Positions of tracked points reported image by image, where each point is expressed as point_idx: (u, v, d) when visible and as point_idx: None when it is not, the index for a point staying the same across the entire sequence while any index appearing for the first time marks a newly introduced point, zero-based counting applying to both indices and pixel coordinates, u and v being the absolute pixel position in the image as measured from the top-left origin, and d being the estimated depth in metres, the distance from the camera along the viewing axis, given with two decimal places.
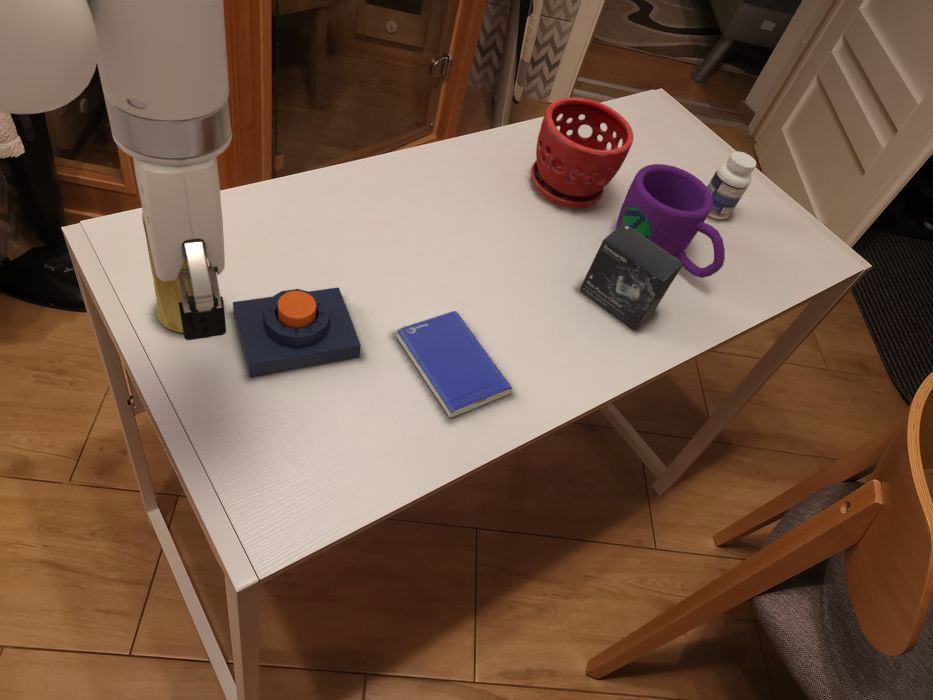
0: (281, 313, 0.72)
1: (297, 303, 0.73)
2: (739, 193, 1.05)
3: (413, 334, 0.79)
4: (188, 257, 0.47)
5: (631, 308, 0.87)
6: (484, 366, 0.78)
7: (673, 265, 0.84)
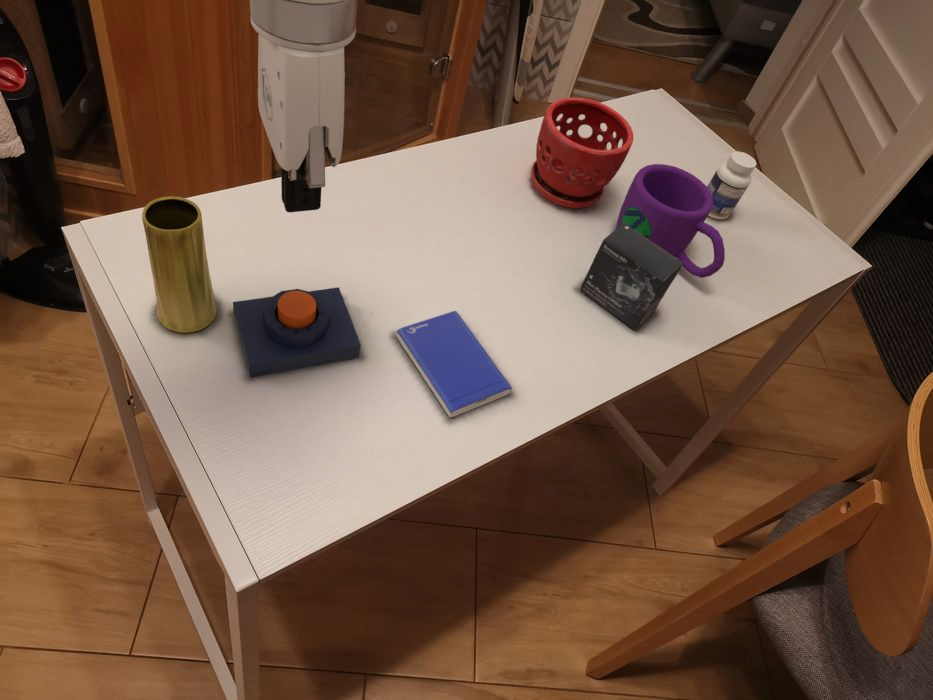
0: (281, 313, 0.72)
1: (297, 303, 0.73)
2: (739, 193, 1.05)
3: (413, 334, 0.79)
4: (310, 151, 0.53)
5: (631, 308, 0.87)
6: (484, 366, 0.78)
7: (673, 265, 0.84)
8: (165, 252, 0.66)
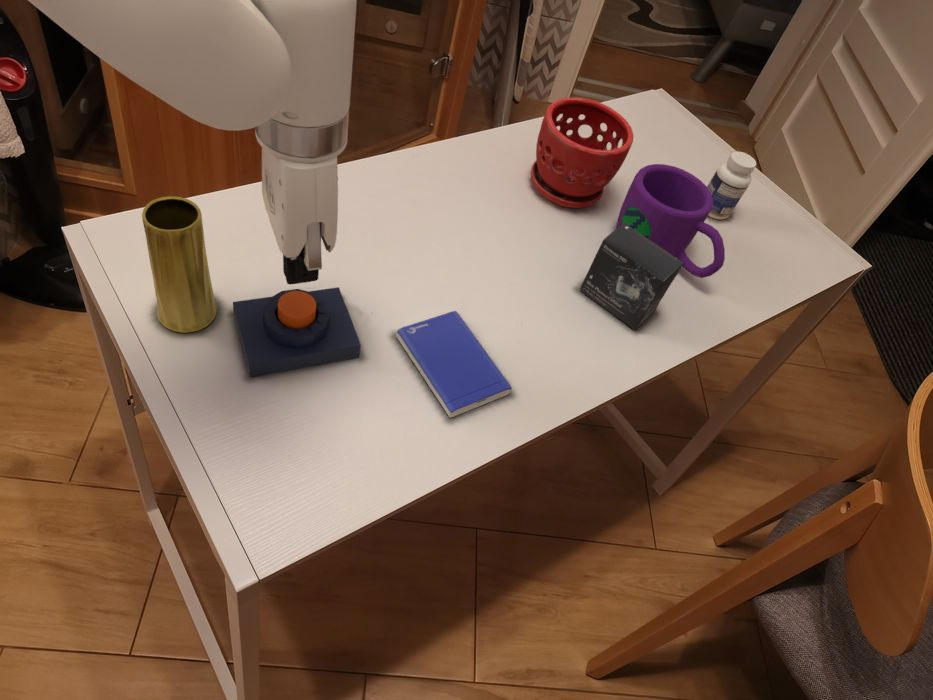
0: (281, 313, 0.72)
1: (297, 303, 0.73)
2: (739, 193, 1.05)
3: (413, 334, 0.79)
4: (308, 241, 0.60)
5: (631, 308, 0.87)
6: (484, 366, 0.78)
7: (673, 265, 0.84)
8: (165, 252, 0.66)
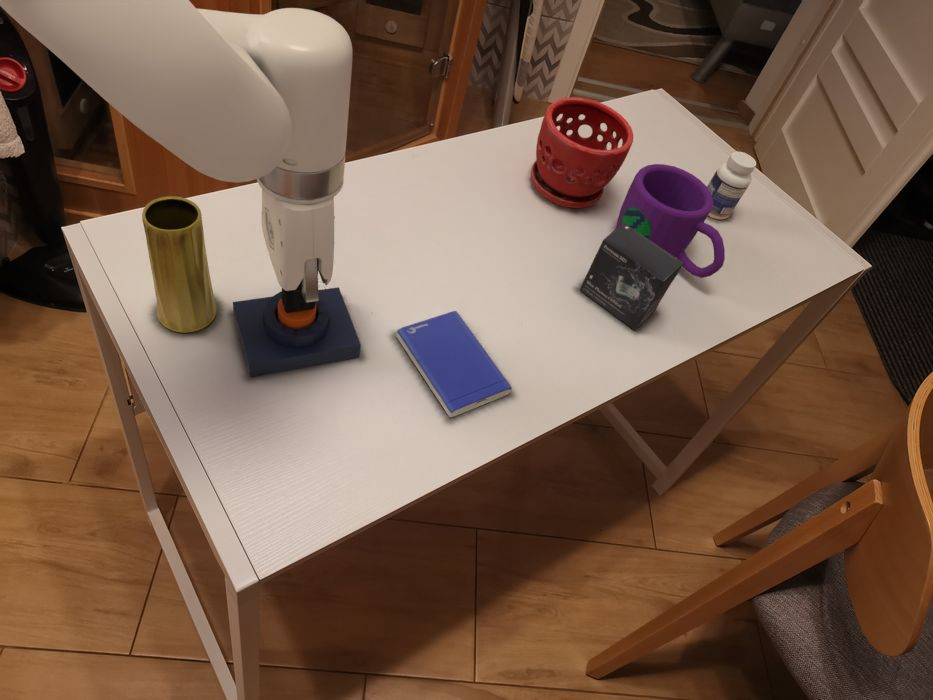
0: (281, 315, 0.72)
1: None
2: (739, 193, 1.05)
3: (413, 334, 0.79)
4: (306, 275, 0.64)
5: (631, 308, 0.87)
6: (484, 366, 0.78)
7: (673, 265, 0.84)
8: (165, 252, 0.66)
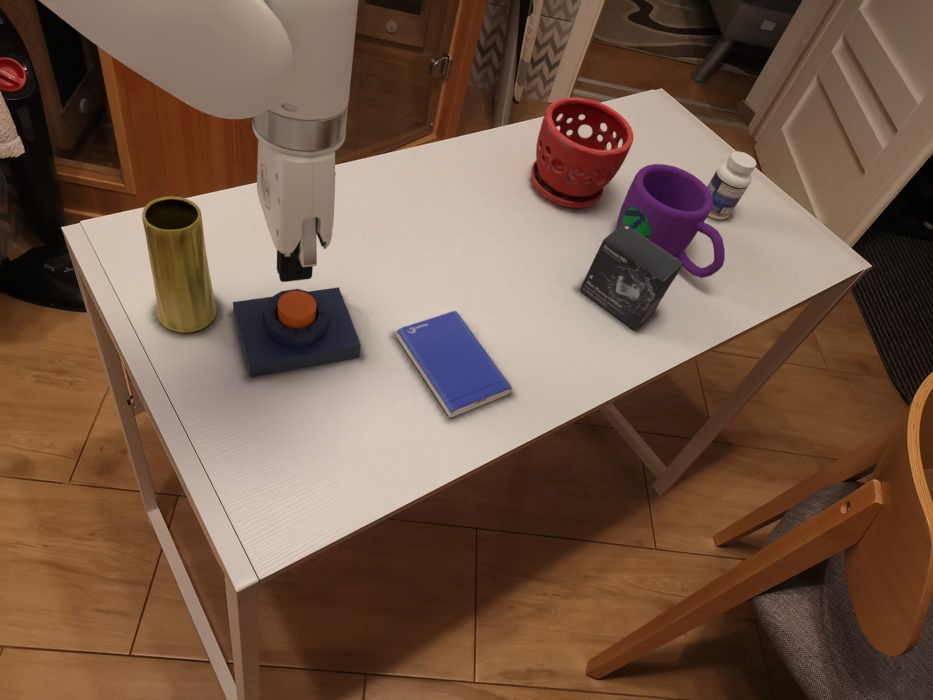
0: (281, 313, 0.72)
1: (297, 303, 0.73)
2: (739, 193, 1.05)
3: (413, 334, 0.79)
4: (304, 237, 0.60)
5: (631, 308, 0.87)
6: (484, 366, 0.78)
7: (673, 265, 0.84)
8: (165, 252, 0.66)
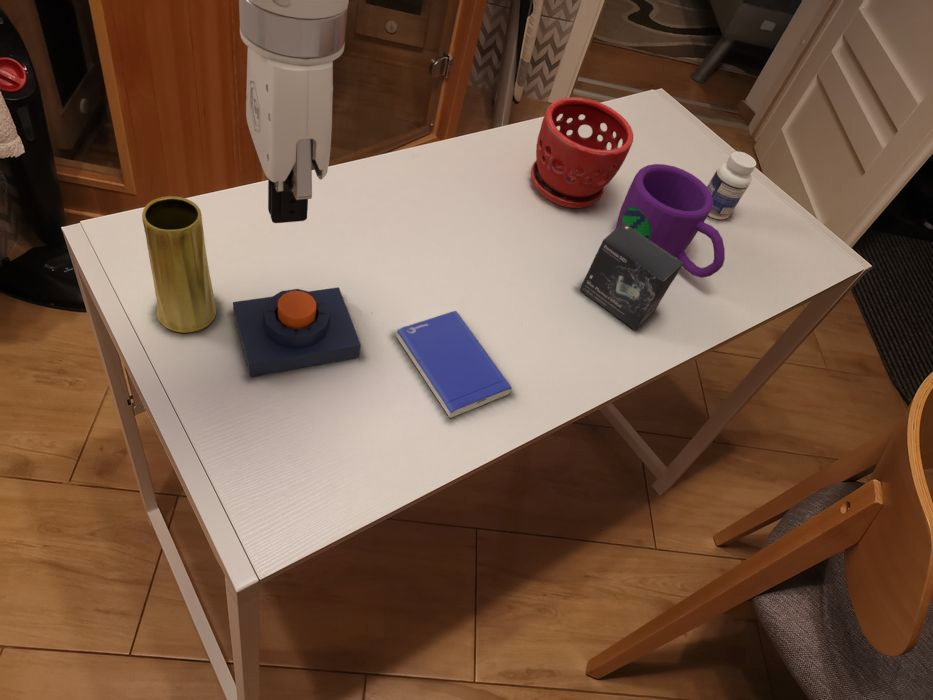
0: (281, 313, 0.72)
1: (297, 303, 0.73)
2: (739, 193, 1.05)
3: (413, 334, 0.79)
4: (297, 163, 0.54)
5: (631, 308, 0.87)
6: (484, 366, 0.78)
7: (673, 265, 0.84)
8: (165, 252, 0.66)
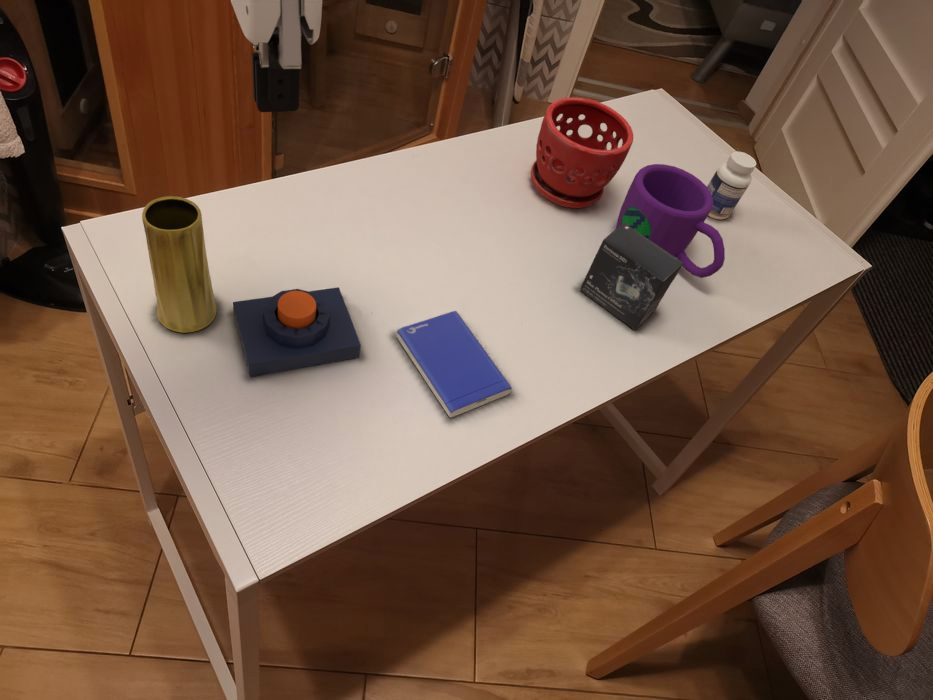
0: (281, 313, 0.72)
1: (297, 303, 0.73)
2: (739, 193, 1.05)
3: (413, 334, 0.79)
4: (283, 19, 0.45)
5: (631, 308, 0.87)
6: (484, 366, 0.78)
7: (673, 265, 0.84)
8: (165, 252, 0.66)
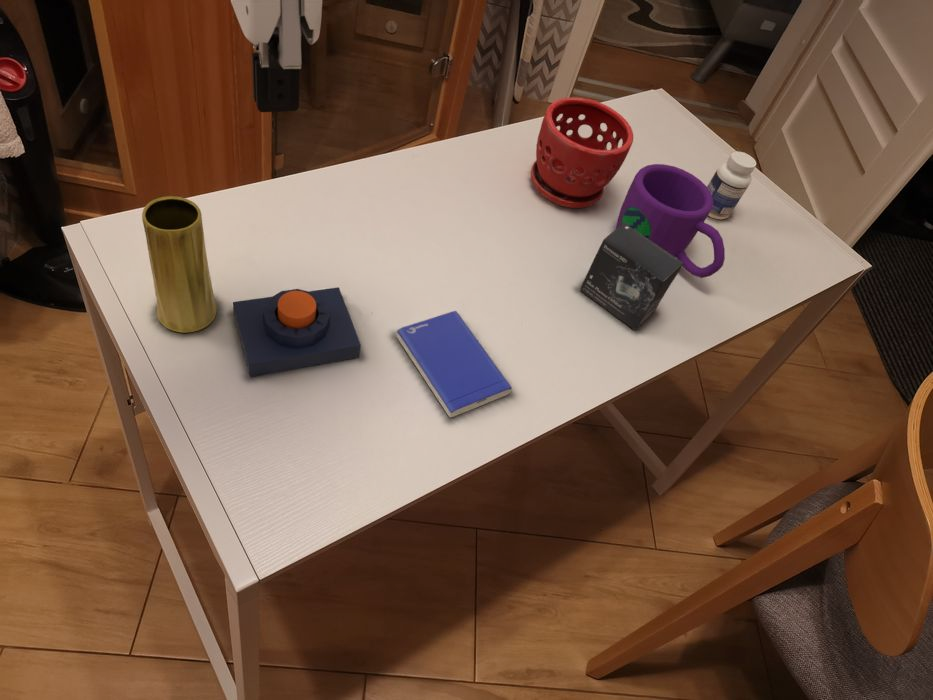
0: (281, 313, 0.72)
1: (297, 303, 0.73)
2: (739, 193, 1.05)
3: (413, 334, 0.79)
4: (283, 19, 0.45)
5: (631, 308, 0.87)
6: (484, 366, 0.78)
7: (673, 265, 0.84)
8: (165, 252, 0.66)
